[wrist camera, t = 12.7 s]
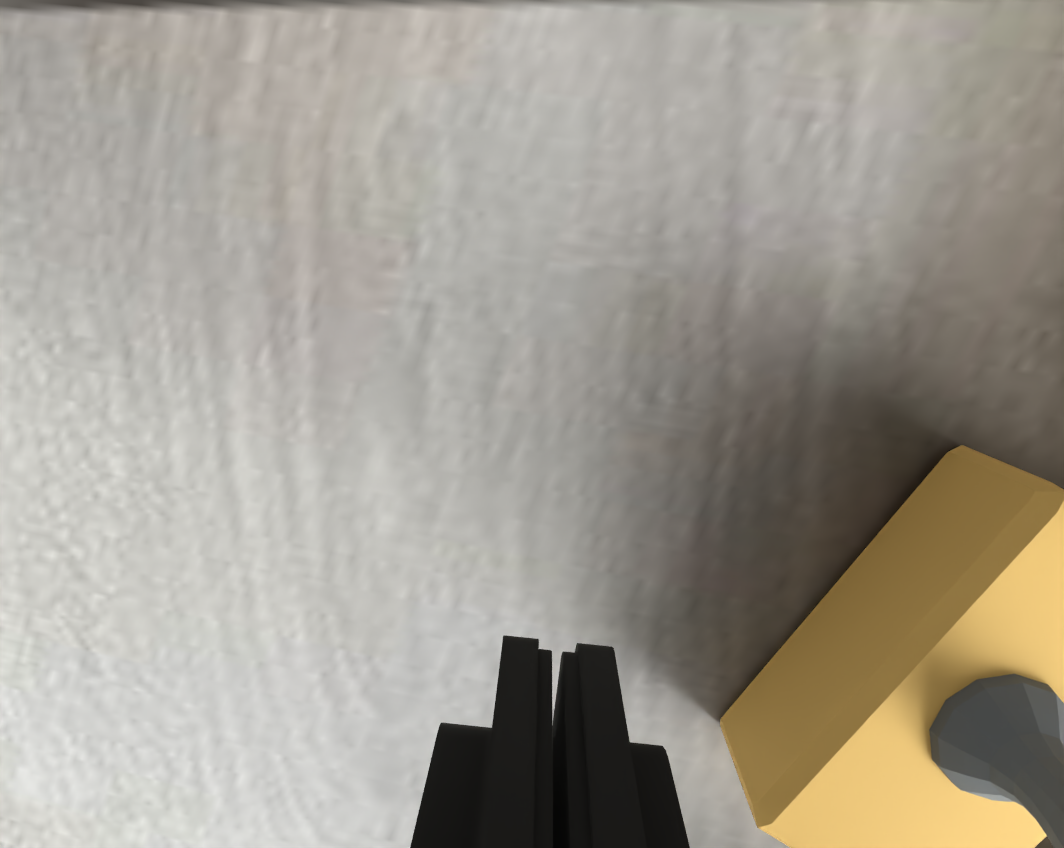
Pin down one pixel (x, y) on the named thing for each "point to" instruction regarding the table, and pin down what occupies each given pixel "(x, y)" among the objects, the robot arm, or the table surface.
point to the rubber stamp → (923, 680)
